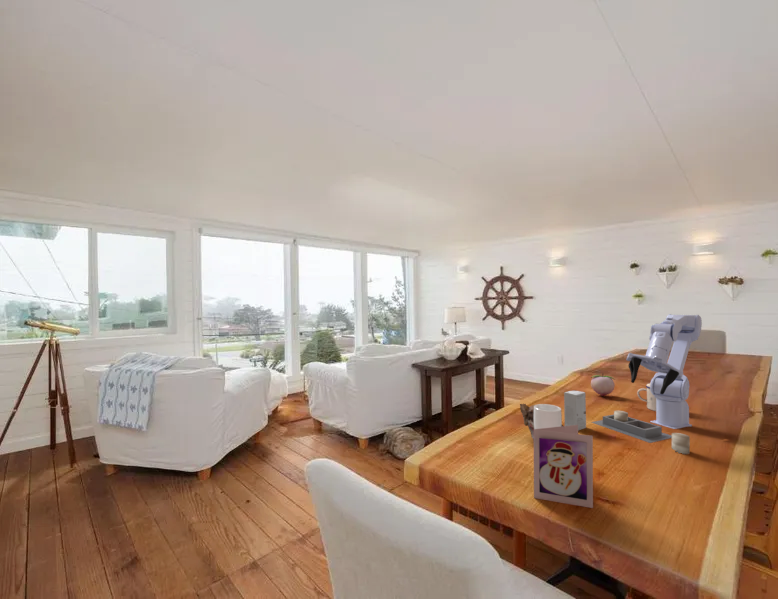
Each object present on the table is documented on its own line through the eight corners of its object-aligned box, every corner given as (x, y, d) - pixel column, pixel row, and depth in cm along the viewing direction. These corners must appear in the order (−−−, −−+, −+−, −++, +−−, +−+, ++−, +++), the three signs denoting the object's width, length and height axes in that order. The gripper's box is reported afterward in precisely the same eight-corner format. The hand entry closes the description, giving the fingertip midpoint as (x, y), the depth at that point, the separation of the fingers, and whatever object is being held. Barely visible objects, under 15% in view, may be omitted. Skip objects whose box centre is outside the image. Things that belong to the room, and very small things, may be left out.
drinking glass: (559, 473, 93) (559, 412, 93) (531, 466, 97) (531, 408, 97) (563, 462, 99) (563, 406, 99) (536, 457, 103) (536, 402, 102)
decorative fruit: (595, 398, 161) (595, 375, 161) (588, 393, 169) (588, 371, 169) (618, 399, 160) (618, 375, 160) (610, 394, 168) (610, 371, 168)
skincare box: (576, 432, 121) (576, 395, 121) (563, 428, 125) (563, 392, 125) (586, 428, 124) (586, 392, 124) (573, 425, 128) (573, 389, 128)
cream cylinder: (677, 447, 109) (677, 432, 108) (692, 452, 105) (692, 436, 105) (668, 449, 107) (668, 434, 107) (683, 455, 103) (683, 438, 103)
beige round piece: (619, 423, 128) (619, 410, 128) (630, 426, 124) (630, 413, 124) (611, 424, 127) (611, 411, 127) (622, 428, 123) (622, 414, 123)
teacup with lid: (675, 408, 146) (675, 378, 146) (675, 414, 139) (674, 383, 139) (638, 403, 153) (638, 375, 153) (636, 408, 146) (636, 378, 146)
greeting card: (533, 499, 81) (533, 430, 81) (533, 483, 88) (533, 420, 88) (593, 510, 77) (593, 437, 77) (588, 492, 84) (588, 425, 84)
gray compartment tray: (615, 419, 134) (615, 410, 134) (675, 438, 115) (675, 428, 115) (590, 423, 129) (590, 414, 129) (650, 444, 111) (650, 434, 111)
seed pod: (531, 407, 126) (507, 401, 117) (581, 406, 115) (558, 399, 106) (533, 449, 122) (509, 446, 112) (585, 452, 110) (562, 449, 101)
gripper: (635, 336, 119) (624, 369, 113) (690, 355, 112) (681, 391, 106) (629, 349, 125) (618, 381, 118) (680, 367, 118) (672, 402, 111)
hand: (647, 386), depth 112 cm, fingers open, 7 cm apart
